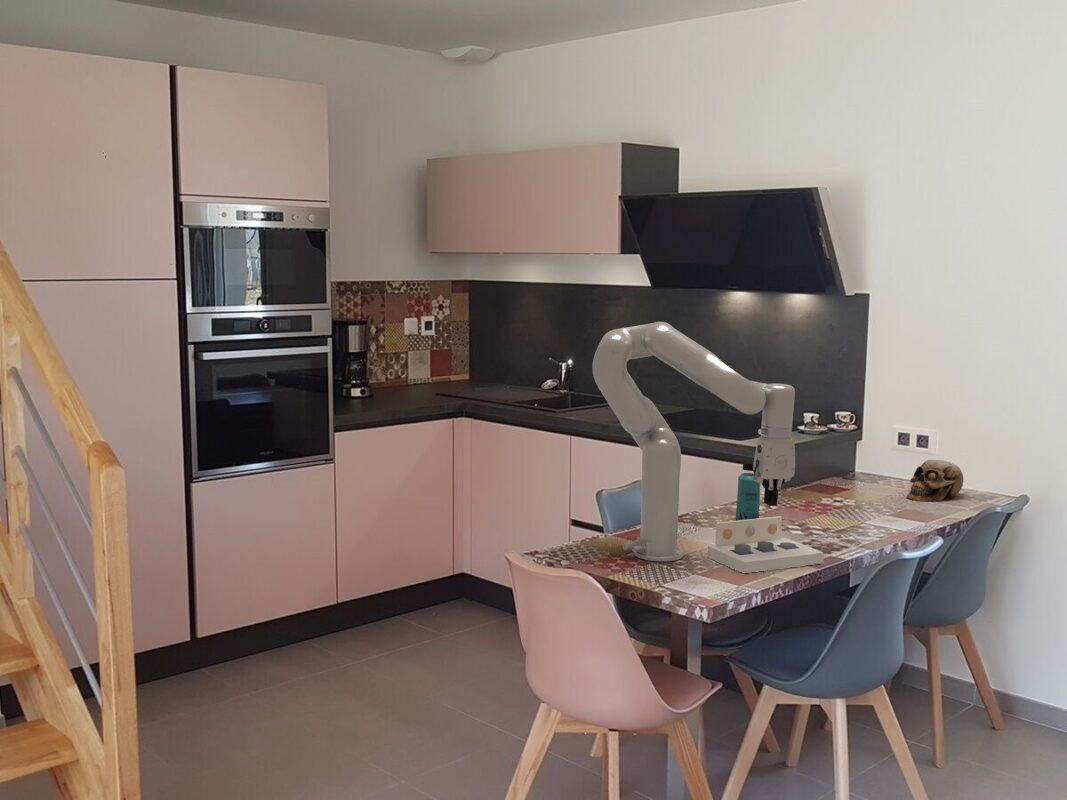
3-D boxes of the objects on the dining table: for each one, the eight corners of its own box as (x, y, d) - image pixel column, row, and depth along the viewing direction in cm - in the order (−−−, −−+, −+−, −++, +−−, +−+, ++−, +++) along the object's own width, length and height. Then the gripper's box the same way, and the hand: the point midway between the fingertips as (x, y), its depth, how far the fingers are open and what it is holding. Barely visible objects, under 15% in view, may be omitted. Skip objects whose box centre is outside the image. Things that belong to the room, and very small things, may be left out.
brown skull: (904, 499, 347) (909, 458, 346) (913, 494, 362) (918, 455, 361) (955, 506, 339) (960, 465, 339) (962, 502, 355) (967, 462, 354)
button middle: (763, 557, 270) (763, 546, 270) (753, 553, 274) (754, 542, 273) (776, 556, 272) (776, 544, 271) (766, 552, 275) (767, 540, 275)
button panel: (743, 574, 261) (745, 538, 260) (707, 557, 275) (708, 523, 274) (823, 564, 271) (825, 529, 269) (783, 548, 285) (785, 515, 284)
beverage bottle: (730, 530, 304) (733, 460, 301) (750, 528, 306) (753, 459, 303) (742, 535, 297) (745, 464, 295) (763, 534, 300) (766, 463, 297)
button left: (740, 560, 267) (740, 548, 267) (730, 556, 271) (731, 544, 270) (753, 559, 269) (753, 547, 268) (744, 554, 272) (744, 543, 272)
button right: (785, 558, 273) (786, 547, 273) (776, 554, 277) (776, 543, 276) (798, 557, 275) (799, 545, 274) (788, 553, 278) (789, 541, 278)
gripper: (761, 436, 263) (755, 509, 265) (809, 434, 269) (803, 506, 272) (742, 431, 269) (737, 502, 272) (790, 429, 276) (784, 499, 278)
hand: (770, 504), depth 272 cm, fingers closed
